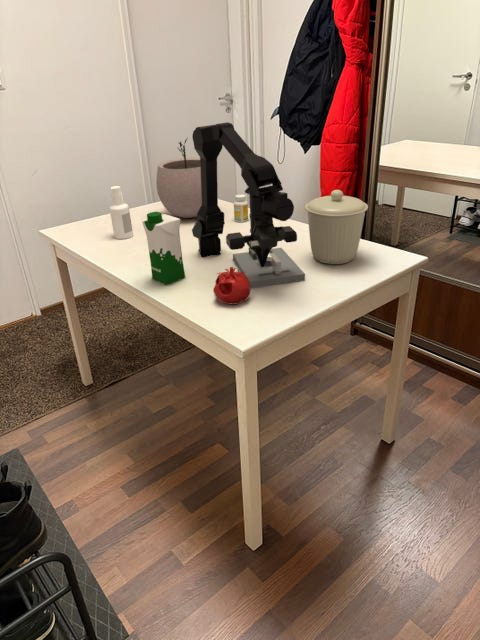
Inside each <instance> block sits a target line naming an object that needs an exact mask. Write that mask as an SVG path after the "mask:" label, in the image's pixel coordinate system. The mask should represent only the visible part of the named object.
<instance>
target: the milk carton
mask: <svg viewBox="0 0 480 640" xmlns="http://www.w3.org/2000/svg"><path fill="white" fill-rule="evenodd" d="M141 223H142V226H143V229H144V233H145V235H146V240H147V247H148V253H149V261H150V268H151V269H150V271H151V279H152V280H153V281H156V282H158V283H159V284H162V285H165V286H169V285H171V284H174V283H177V282H178V281H180V280H181V281H182V280H184V279H186V273H185V272H186V271H185V267H184V262H183V253H182V252H183V251H182V246H181V245H182V243H181V235H180V233H181V232H180V231H181V230H180V229H181V228H180V226H181V218H180V217H179V218H178V217H177V216H176V217H175V216H172V215H170V214H169V215H168V214H165V213H163V214H162V212H160V211H152V212H148V213H147V214H146V218H145V219H143V220H141Z"/></svg>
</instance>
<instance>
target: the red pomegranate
mask: <svg viewBox="0 0 480 640" xmlns="http://www.w3.org/2000/svg"><path fill="white" fill-rule="evenodd" d="M236 269H238V268H236V267H233V266H230V267H229V269H227V268H225V269H224V272H223V271H222V272H217V273H216V274H218V276H217V277H216V279H215V286H214V287H213V293H214V296H215V297H216V299H217V300H218V301H220V302H221V303H224V304H227V305H230V304H231V305H234V304H235V305H238V304H241V302H243V301H246V300H247V299H248V298H249V297H250V295H251V288H250V284H249V280H248V278H247V277H246V276H245V274H243V273H246V272H240V271H235V270H236Z"/></svg>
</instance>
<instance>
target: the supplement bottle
mask: <svg viewBox="0 0 480 640" xmlns="http://www.w3.org/2000/svg"><path fill="white" fill-rule="evenodd" d="M234 199H235V201H234V202H233V212H234V213H233V217H234V221H235V222H236V223H245V222H247V221H248V220H249V203H248V201H247V200H246V199H247V196H246V195H245V194H242V193H241V194H236V195H235V196H234Z"/></svg>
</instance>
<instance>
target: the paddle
mask: <svg viewBox="0 0 480 640" xmlns="http://www.w3.org/2000/svg"><path fill="white" fill-rule="evenodd" d="M272 270H273V271H274V272H275V274H281V261H280V260H279V259H278V257H272Z"/></svg>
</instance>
